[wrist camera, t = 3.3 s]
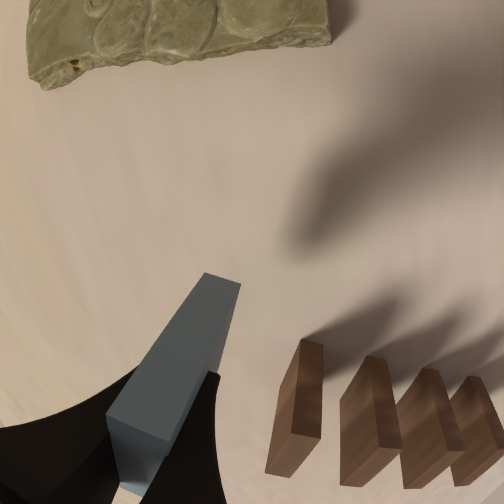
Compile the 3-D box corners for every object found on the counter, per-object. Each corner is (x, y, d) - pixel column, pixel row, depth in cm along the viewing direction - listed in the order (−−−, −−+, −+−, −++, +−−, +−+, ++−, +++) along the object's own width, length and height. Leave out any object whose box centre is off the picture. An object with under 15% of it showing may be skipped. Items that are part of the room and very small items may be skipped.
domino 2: (322, 345, 21) (320, 439, 14) (299, 391, 23) (289, 478, 16) (300, 339, 21) (290, 433, 14) (280, 386, 23) (264, 473, 16)
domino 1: (241, 283, 13) (169, 441, 6) (218, 367, 15) (163, 504, 8) (205, 272, 13) (105, 414, 6) (188, 357, 15) (120, 487, 8)
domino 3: (385, 360, 21) (403, 449, 13) (357, 403, 23) (361, 487, 15) (366, 355, 21) (378, 447, 13) (339, 400, 23) (339, 485, 15)
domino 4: (438, 370, 20) (465, 451, 13) (407, 411, 22) (421, 488, 15) (422, 367, 20) (447, 451, 13) (392, 409, 22) (403, 488, 15)
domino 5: (480, 377, 20) (510, 448, 13) (449, 416, 22) (468, 485, 15) (468, 375, 20) (497, 449, 13) (437, 415, 22) (454, 486, 15)
